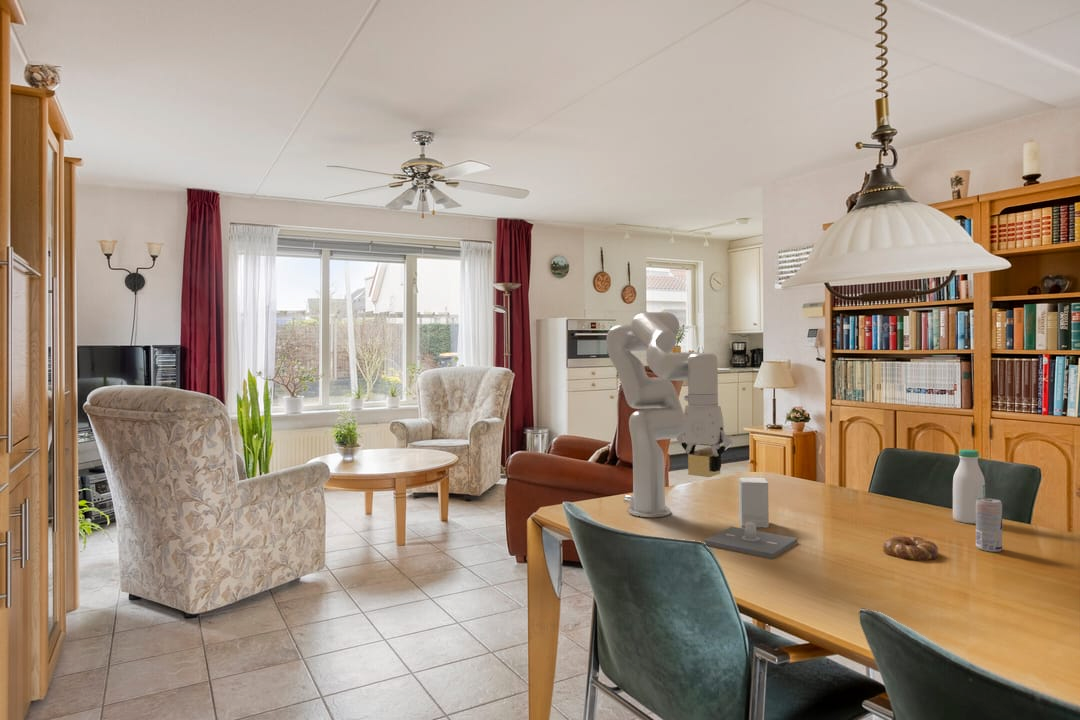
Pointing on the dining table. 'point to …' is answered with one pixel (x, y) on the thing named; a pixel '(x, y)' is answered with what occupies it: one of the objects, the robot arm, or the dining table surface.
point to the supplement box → (753, 501)
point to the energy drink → (989, 524)
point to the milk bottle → (967, 487)
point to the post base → (751, 541)
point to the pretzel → (910, 548)
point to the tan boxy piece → (701, 463)
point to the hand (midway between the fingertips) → (704, 468)
